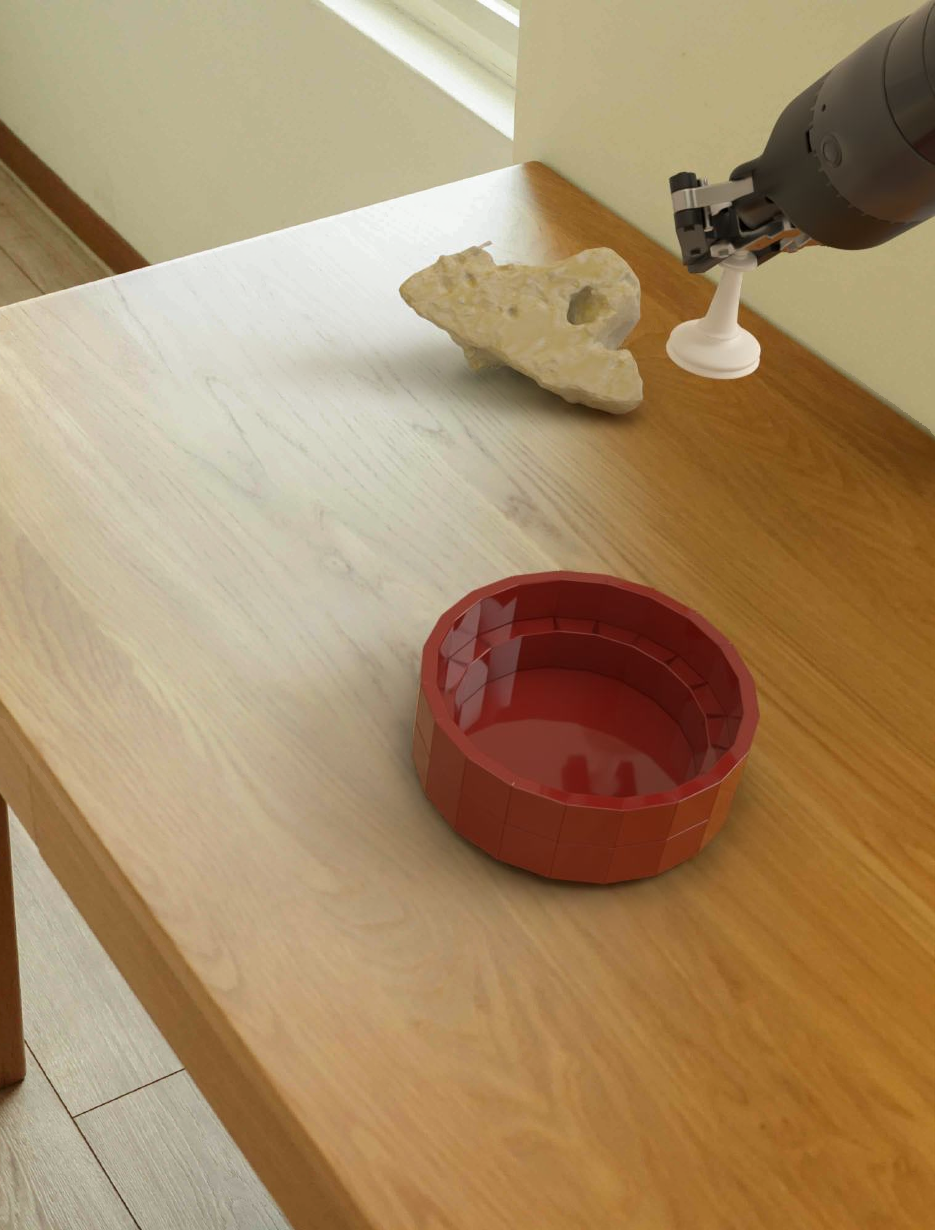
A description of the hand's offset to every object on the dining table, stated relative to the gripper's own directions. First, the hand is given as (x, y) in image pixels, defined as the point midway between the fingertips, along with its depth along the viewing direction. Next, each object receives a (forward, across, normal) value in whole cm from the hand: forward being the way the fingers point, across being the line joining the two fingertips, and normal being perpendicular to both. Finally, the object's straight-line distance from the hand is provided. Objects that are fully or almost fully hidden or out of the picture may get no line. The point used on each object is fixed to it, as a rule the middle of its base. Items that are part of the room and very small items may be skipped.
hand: (716, 252), depth 80 cm
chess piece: (+2, 0, +5) cm, 6 cm away
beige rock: (+27, +2, +1) cm, 27 cm away
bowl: (+3, +10, +25) cm, 28 cm away
